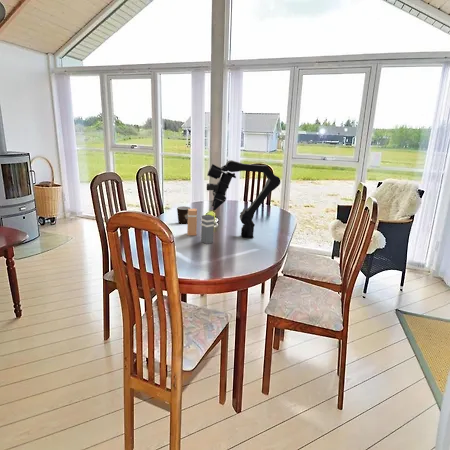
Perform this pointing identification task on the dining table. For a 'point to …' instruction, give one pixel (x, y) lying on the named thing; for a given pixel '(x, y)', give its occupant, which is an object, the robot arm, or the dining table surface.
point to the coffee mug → (183, 214)
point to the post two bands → (207, 229)
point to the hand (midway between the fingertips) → (213, 208)
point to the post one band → (192, 222)
